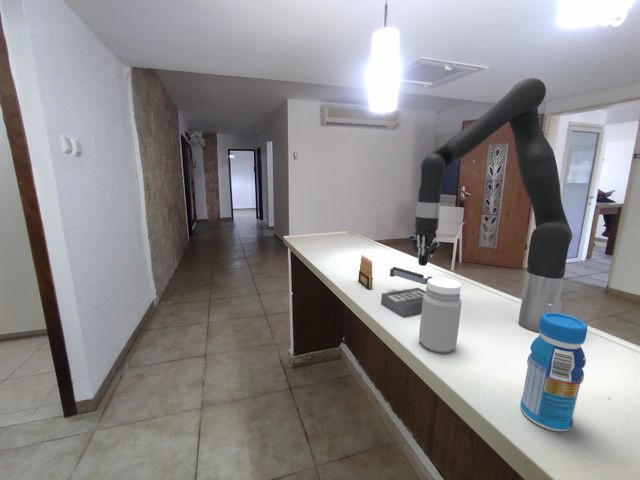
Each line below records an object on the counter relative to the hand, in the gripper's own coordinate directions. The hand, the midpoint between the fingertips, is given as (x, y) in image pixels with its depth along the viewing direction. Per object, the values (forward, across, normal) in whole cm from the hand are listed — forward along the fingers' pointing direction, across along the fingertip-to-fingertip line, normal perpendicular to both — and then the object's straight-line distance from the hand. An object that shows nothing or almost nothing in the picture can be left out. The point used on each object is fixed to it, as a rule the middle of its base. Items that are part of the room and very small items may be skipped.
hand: (422, 265), depth 109 cm
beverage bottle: (+15, -51, +16) cm, 55 cm away
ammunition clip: (+15, +25, +6) cm, 30 cm away
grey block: (+15, 0, +4) cm, 15 cm away
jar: (+15, -23, +15) cm, 31 cm away
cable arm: (+9, +9, -2) cm, 13 cm away
